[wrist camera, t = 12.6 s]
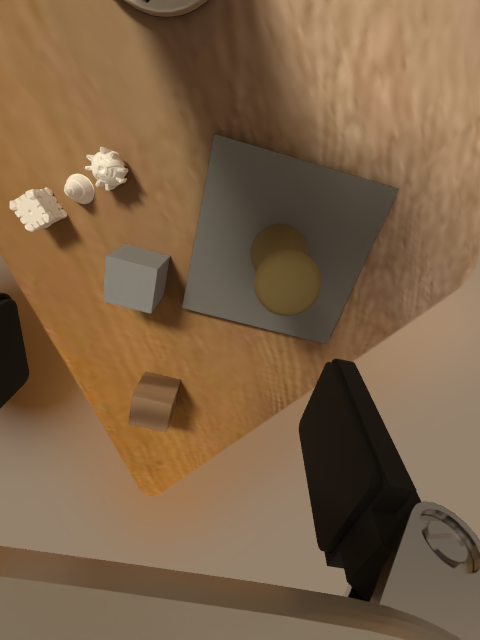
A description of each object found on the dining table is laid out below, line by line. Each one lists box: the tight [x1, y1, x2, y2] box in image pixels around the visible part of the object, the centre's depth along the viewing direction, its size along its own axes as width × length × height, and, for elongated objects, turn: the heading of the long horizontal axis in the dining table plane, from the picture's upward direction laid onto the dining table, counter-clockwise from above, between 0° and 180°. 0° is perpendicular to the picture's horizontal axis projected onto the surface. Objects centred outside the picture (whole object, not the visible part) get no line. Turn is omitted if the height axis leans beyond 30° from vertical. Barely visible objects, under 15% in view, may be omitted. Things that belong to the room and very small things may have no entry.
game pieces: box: [10, 147, 128, 232], centre depth 29 cm, size 12×3×3 cm, turn 115°
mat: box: [182, 134, 399, 344], centre depth 32 cm, size 18×18×1 cm
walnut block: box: [129, 372, 181, 432], centre depth 40 cm, size 5×5×5 cm
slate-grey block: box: [103, 244, 170, 314], centre depth 32 cm, size 5×5×5 cm
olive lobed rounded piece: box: [250, 224, 321, 316], centre depth 27 cm, size 6×6×11 cm
